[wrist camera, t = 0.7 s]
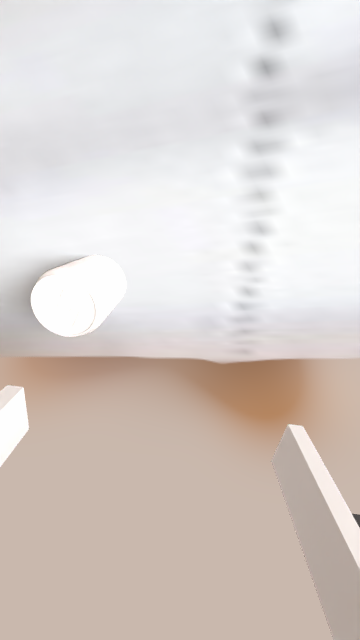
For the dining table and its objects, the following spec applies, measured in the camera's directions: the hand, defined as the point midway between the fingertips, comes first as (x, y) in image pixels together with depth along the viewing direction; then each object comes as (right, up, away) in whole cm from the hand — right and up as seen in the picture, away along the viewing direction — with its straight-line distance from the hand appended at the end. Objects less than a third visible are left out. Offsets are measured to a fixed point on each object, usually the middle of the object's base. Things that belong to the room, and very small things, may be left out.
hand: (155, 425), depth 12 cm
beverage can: (-11, +11, +25) cm, 29 cm away
